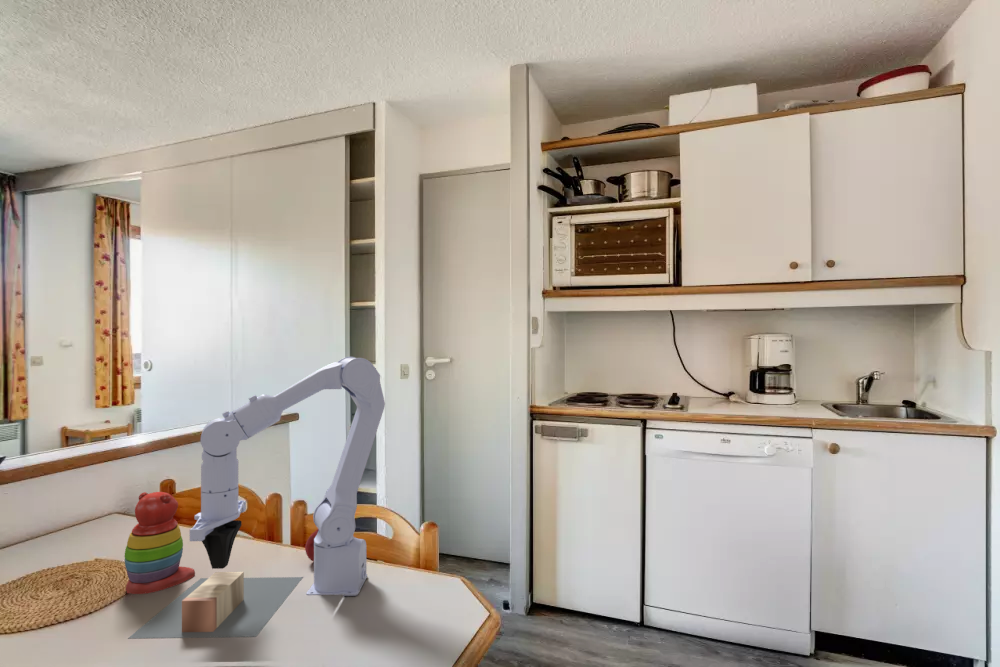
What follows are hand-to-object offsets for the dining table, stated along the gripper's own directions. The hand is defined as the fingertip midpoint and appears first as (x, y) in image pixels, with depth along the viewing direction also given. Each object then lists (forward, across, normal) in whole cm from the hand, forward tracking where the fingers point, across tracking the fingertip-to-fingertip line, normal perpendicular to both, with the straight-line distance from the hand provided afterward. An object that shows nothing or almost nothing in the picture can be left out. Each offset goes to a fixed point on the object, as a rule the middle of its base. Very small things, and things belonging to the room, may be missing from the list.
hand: (219, 566), depth 88 cm
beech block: (+5, -3, 0) cm, 6 cm away
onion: (+8, -19, +11) cm, 23 cm away
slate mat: (+8, -2, 0) cm, 8 cm away
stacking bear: (+8, -11, -18) cm, 22 cm away
